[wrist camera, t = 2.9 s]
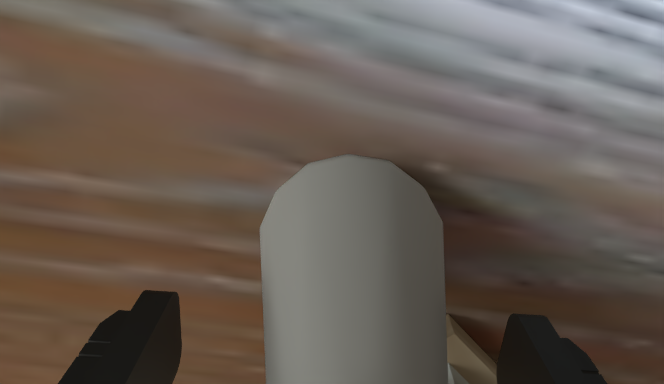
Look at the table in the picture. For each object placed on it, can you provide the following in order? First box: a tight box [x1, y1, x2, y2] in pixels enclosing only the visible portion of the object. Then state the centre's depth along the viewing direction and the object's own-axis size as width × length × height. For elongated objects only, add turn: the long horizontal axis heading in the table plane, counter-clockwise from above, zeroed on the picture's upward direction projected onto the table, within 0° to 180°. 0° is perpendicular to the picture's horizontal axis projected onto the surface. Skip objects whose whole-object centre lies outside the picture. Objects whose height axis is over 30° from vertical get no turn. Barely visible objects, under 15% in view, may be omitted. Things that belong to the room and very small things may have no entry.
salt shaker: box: [260, 154, 448, 384], centre depth 12 cm, size 6×6×13 cm
